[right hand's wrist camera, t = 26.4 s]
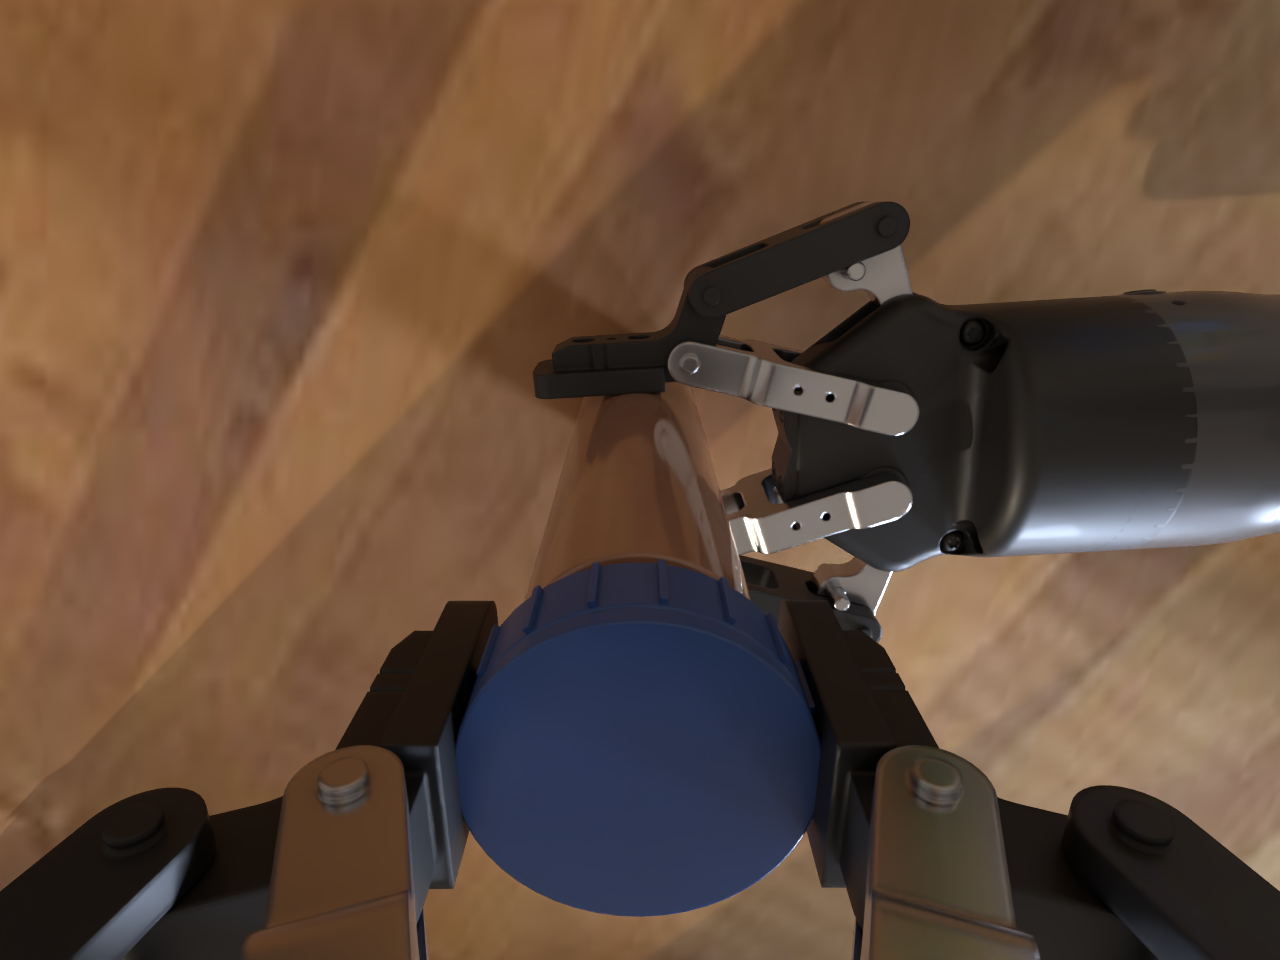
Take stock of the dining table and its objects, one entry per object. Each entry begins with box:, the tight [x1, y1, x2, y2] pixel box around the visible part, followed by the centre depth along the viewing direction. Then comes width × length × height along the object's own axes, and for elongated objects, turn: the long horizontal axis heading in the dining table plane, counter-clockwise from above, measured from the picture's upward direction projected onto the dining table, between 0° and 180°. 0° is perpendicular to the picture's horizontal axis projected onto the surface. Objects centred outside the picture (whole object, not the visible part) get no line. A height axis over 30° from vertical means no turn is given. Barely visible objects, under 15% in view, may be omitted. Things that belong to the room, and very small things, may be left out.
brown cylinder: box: [524, 382, 751, 602], centre depth 19 cm, size 4×4×19 cm
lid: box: [455, 559, 821, 917], centre depth 10 cm, size 5×5×2 cm
